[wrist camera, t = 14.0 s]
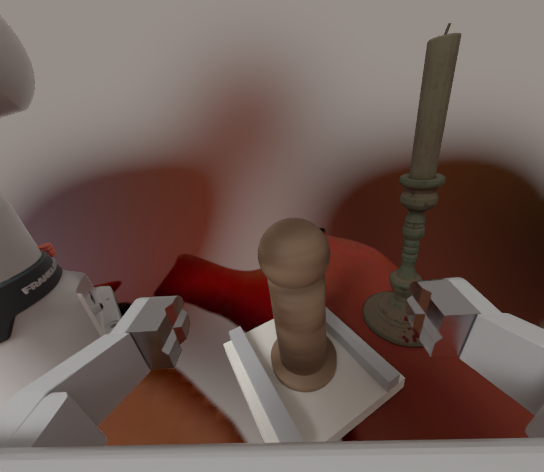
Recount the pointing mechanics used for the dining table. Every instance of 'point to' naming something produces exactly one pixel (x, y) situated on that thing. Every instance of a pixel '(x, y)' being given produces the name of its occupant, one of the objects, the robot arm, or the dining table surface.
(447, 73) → the candlestick holder
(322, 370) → the tan wooden upright piece
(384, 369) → the tray
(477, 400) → the dining table surface
